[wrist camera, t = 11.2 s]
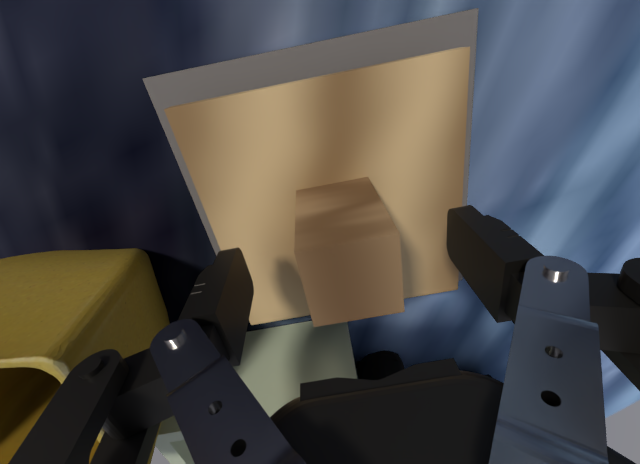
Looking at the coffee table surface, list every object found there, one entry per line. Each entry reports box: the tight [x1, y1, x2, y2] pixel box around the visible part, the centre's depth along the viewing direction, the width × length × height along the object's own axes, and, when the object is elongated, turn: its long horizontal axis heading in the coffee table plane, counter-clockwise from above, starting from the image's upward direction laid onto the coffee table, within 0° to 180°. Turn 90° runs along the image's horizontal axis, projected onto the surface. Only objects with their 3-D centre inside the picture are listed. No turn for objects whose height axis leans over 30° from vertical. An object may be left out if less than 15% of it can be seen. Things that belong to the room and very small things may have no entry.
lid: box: [164, 47, 470, 327], centre depth 13 cm, size 12×12×7 cm
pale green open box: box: [155, 321, 358, 464], centre depth 21 cm, size 11×11×6 cm
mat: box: [143, 8, 478, 281], centre depth 16 cm, size 14×14×1 cm
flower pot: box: [0, 248, 170, 464], centre depth 15 cm, size 9×9×9 cm
